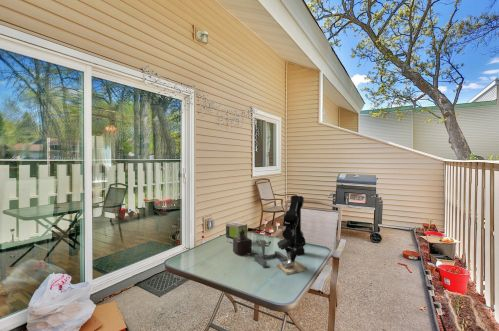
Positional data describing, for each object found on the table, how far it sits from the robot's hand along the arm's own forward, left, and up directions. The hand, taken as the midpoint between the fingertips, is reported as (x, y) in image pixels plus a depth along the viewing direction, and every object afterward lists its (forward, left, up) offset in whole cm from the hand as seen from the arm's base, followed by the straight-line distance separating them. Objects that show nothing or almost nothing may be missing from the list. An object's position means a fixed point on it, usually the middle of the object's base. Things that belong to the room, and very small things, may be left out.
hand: (291, 260), depth 151 cm
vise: (+6, -14, -4) cm, 16 cm away
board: (0, 0, -4) cm, 5 cm away
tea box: (+11, -60, -5) cm, 61 cm away
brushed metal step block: (+2, 0, -3) cm, 3 cm away
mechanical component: (+5, -26, -5) cm, 27 cm away
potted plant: (+16, -35, -5) cm, 39 cm away
